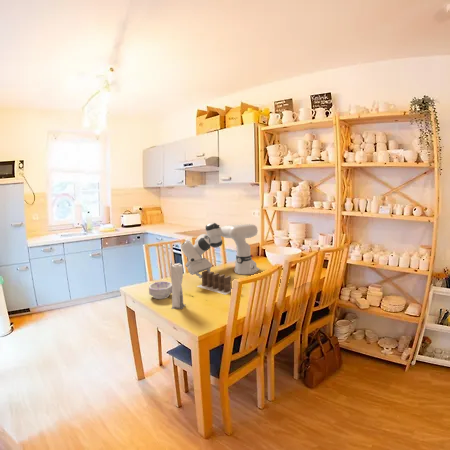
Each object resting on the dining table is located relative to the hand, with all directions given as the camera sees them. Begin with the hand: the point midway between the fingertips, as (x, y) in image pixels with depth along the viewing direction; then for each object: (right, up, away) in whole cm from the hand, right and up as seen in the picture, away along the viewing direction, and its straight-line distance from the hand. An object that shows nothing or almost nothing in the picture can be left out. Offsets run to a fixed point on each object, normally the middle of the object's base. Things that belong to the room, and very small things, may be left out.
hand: (205, 275), depth 223 cm
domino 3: (+7, -8, -5) cm, 12 cm away
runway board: (+7, -9, -5) cm, 12 cm away
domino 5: (+15, -9, -11) cm, 20 cm away
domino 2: (+3, -7, -2) cm, 8 cm away
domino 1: (-1, -7, +1) cm, 7 cm away
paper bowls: (-28, -11, -17) cm, 35 cm away
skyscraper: (-15, -14, -32) cm, 38 cm away
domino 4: (+11, -8, -8) cm, 16 cm away
